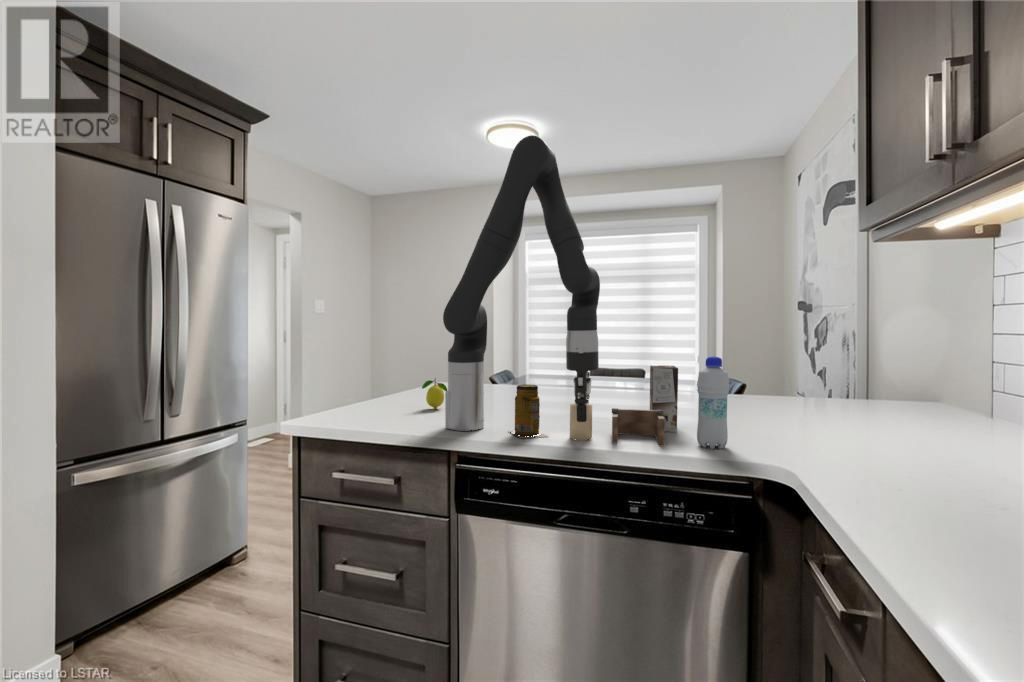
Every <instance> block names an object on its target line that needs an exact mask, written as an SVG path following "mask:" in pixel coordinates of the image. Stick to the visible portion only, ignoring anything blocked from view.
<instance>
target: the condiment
mask: <svg viewBox="0 0 1024 682" xmlns="http://www.w3.org/2000/svg"><path fill="white" fill-rule="evenodd" d="M538 389H539V387H538V385H535V384H528V383H527V384H518V385H516V392H515V393H516V396H514V397H515V398H514V430H508V432H509V433H510V432H511V433H510V434H511V435H514V436H515V437H517V438H519V439H538V438H546V437H549V436H548V435H546V434H545V433H543V434H541V435H539V436H537V437H536V436H534V437H535V438H534V437H533V435H537V434H539V432H540V407H541V406H540V396H539V391H538ZM513 431H515V434H512V432H513ZM518 435H520V436H518ZM525 436H526V437H525ZM527 436H529V437H527ZM531 436H532V437H531Z"/></svg>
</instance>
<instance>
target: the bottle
mask: <svg viewBox="0 0 1024 682" xmlns="http://www.w3.org/2000/svg"><path fill="white" fill-rule="evenodd" d="M722 367H723V360H722V358H721V357H719V356H708V357H707V358H705V368H703V369H701V370H699V371H698V377H697V381H696V387H697V389H696V391H697V393H698V402H697V403H698V408H697V409H698V412H697V413H698V414H697V415H698V417H697V418H698V420H697V428H696V429H697V430H696V439H697V442H698V445H699V446H701V447H703V448H707V447H708V444H709V447H710V449H713V450H714V449H715V448H716V445H717V449H718V448H719V450H720V449H722V448H725V447H726V445H727V444H728V394H729V393H730V391H729V390H730V380H729V373H728V371H727V370H724V369H723V368H722Z"/></svg>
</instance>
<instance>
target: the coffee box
mask: <svg viewBox="0 0 1024 682" xmlns="http://www.w3.org/2000/svg"><path fill="white" fill-rule="evenodd" d="M649 368H650V369H649V410H663V411H664V415H663V417H664V419H665V421H664V432H671V433H677V432H678V403H679V402H678V399H679V397H678V394H679V368H678V367H676V366H675V365H650V366H649Z"/></svg>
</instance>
